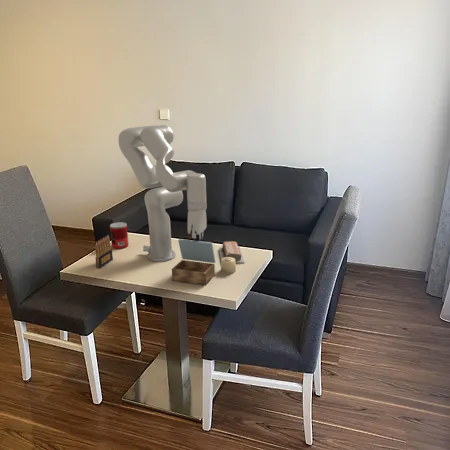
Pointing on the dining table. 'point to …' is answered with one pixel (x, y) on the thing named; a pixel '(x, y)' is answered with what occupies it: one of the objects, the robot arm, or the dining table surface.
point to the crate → (193, 272)
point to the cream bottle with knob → (228, 265)
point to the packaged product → (231, 251)
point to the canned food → (119, 235)
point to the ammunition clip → (103, 252)
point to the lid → (197, 250)
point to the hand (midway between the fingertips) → (198, 248)
